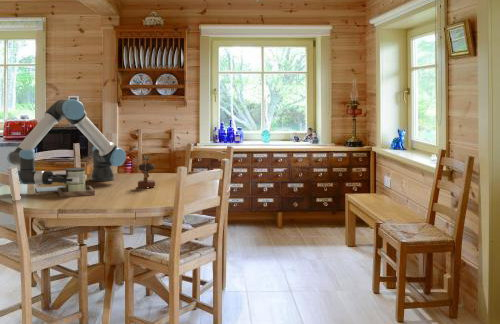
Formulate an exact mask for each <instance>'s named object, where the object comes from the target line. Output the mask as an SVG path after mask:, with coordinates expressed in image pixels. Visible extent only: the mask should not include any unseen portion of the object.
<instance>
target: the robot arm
mask: <svg viewBox="0 0 500 324" xmlns="http://www.w3.org/2000/svg"><path fill="white" fill-rule="evenodd" d="M62 120H66V121H67V122H68V123H69V125H71V126H75V127H76V128H77V129H78V130H79V131H80V132H81V133H82V134H83V135H84V137H86V139H87V140H88V141H89V142H90V143H91V144H92V145H93V147H92V171H91V174H90V181H92V182H93V181H94V182H107V181H108V182H110V181H113V180H115V175H114V172H113V169H112V167H120V166H122V165H123V164H125V163H124V162H125V161H126V159H127V158H126V156H127V155H126V151H125V150H124V149H123V148H121V147H118V146H117V144H116V143H114V142H112V141H109V140H108V139H107V138H106V136H105V135H104V134H103V132H101V131H100V130H99V129H98V127H97V126H96V125H95V124H94V123H93V121H92V120H90V119H89V117H88V116H87V112H86V111H85V106H84V104H83V102H81V101H79V100H77V99H72V98H71V99H58V100H56V101H55V102H54V103H52V104H51V105H50V106H49V107H48V108H47V110H46V111H45V112H44V113H43V117H42V118H41V119H40V120H39V122H38V123H37V124H36V125H35V127H33V128H32V130H31V131H30V132H29V133H28V134H27V135H26V137H25V138H24V139H23V140H22V141H21V143H19V145H18V146H17V147H16V148H15V149H14V150H13V151H10V152H9V153H7V156H6V159H7V163H8V162H9V164H11V165H15V166H19V170H18V171H17V172H18V175H19V181H20V184H19V185H38V186H42V185H46V186H47V185H48V186H49V185H53V183H58V184H59V183H61V184H64V185H66V181H67V182H77V183H79V177H67V179H66V173H64V174H63V173H62V174H60V173H59V174H58V173H56V174H54V173H53V171H51V170H49V171H46V170H45V171H44V170H35V154H34V153H35V152H34V149H36V147H37V146H38V145H39V143H40V142H41V141H42V140H43V138H44V137H45V136H46V135H47V134H48V133H49V131H51V129H52V128H53V127H54V125H58V123H60V122H61V121H62ZM87 175H88V174H85V181H86V180H87V179H88V178H87V177H88V176H87Z"/></svg>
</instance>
